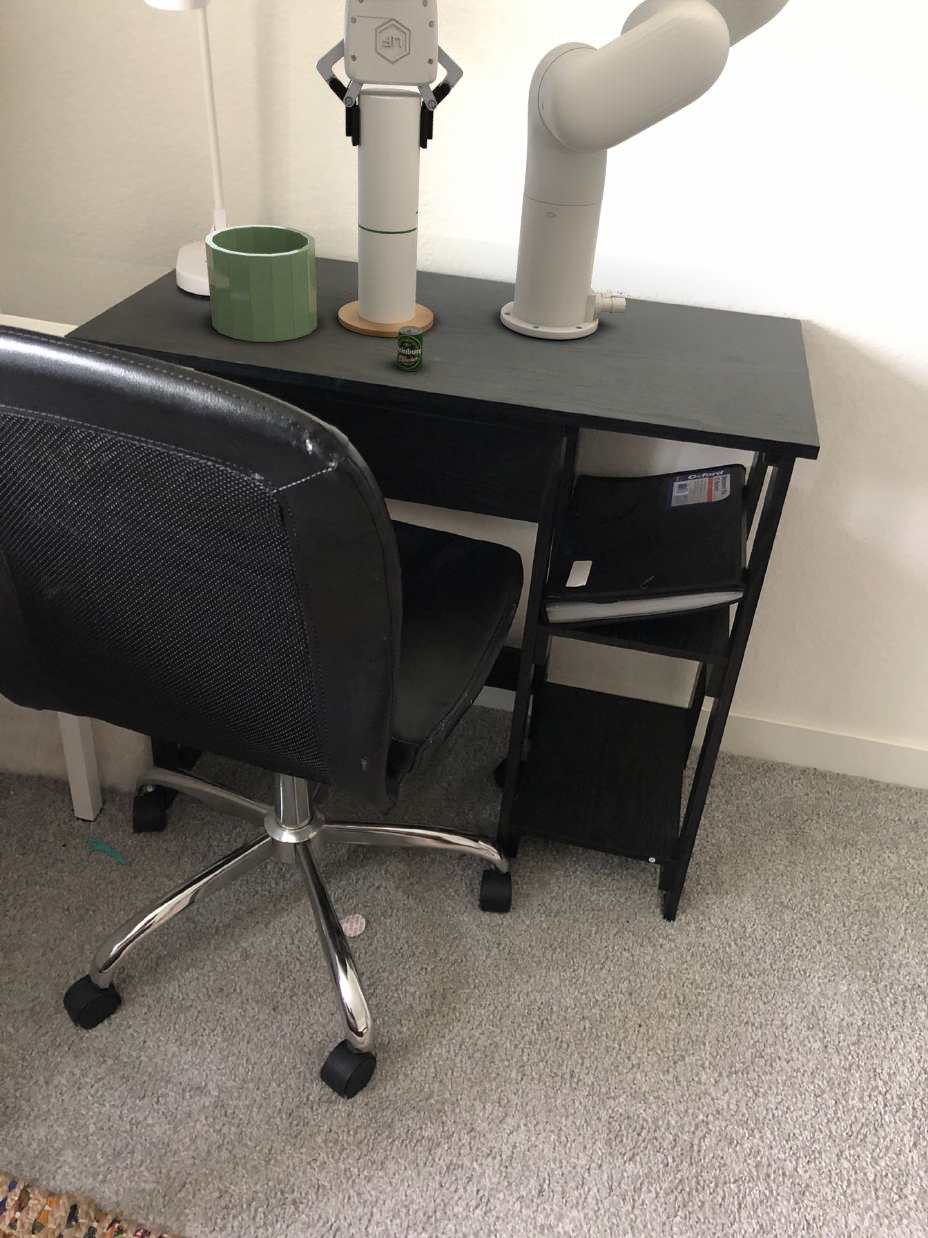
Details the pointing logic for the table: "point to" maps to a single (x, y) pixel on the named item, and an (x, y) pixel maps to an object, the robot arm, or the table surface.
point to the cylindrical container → (388, 203)
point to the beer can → (410, 348)
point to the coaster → (357, 324)
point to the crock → (262, 282)
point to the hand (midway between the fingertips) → (389, 143)
